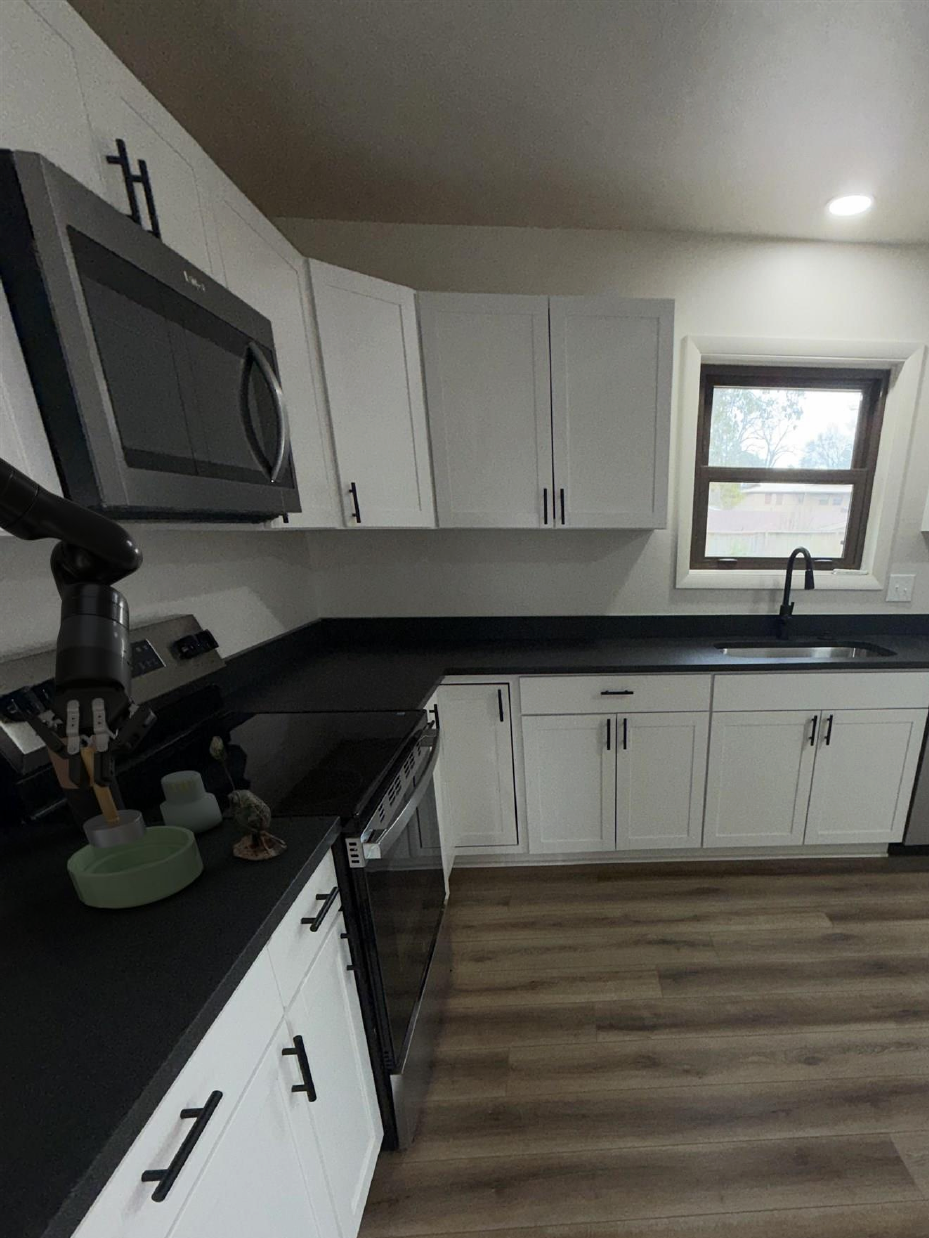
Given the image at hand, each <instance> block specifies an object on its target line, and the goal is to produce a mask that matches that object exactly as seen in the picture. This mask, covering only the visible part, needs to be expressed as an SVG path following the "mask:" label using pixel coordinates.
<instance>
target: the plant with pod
mask: <svg viewBox="0 0 929 1238" xmlns="http://www.w3.org/2000/svg"><path fill="white" fill-rule="evenodd" d="M209 753H210V755H211V756H212V758H214V759H215V760H216V761H218V762H221V765H222V767H223V768H224V771H225V773H226V775H227V777H228V779H229V782H230V784H231V786H232V789H233V791H232V792H231V793H229V794H228V795H227V800H228V801H229V805H230V809H231V812H230V813H231V815H232V819H233V822H234V828H235V830H236V831H235V832H236V833H237V834H238V835H239V836H240V837H242V838H241V840H239V841H236V842H234V843H232V848H233V852H232V855H233V856H234V857H238V858H241V859H247V860H250V861H257V862H258V861H264V860H269V858H271V859H272V858H273V857H276V856H279V855H282V854H284V852H285V851H286V850H288V849H287V848H288V847H287V845H286V842H284V841H285V840H283V839H280V837H278V836H277V835H273V834H270V833H268V832H267V831H266V830H267V829H269V828H270V824H271V822H272V814H271V809H270V808H269V806H267V804H265V802H264V801H263V800H262V799H261V798H259V797H258V796H257V795H255V794H254V793H252V792H251V791H250V790H248V789H236V787H235V785H234V782H233V779H232V777H231V775H230V772H229V770H228V769H227V763H226V761H225V760H227V755H228V754H227V751H226V748H225V745H224V741H223V739H222V738H221V737H220V736H217V735H216V736H213V737H212V740H211V742H210V746H209Z"/></svg>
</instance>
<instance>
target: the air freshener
mask: <svg viewBox="0 0 929 1238" xmlns="http://www.w3.org/2000/svg"><path fill="white" fill-rule="evenodd" d="M160 784H161V788H162V790H163V793H164V797H165V800H164V801H163V802H162V803H161V804H160V805H159V808H160V812H161V816H162V819H163V822H164V826H176V827H182V828H186V829H188V830H190V831H192V832H193V834H194V835H197V834H201V833H204V832H207V831H209V830H211V829H213V828H215V827H216V826H217V825H218V824H220V823H221V822H222V820H223V816H222V813H221V809H220V807H219V804H218V801H217V799H216V796H215V794H213V793H210V792H206V789H205V786H204V783H203V779H202V776H201V773H199V772H198V771H195V770H181V771H176V772H172V773H169V774H167V775H165V776H163V777H162V778H161V780H160Z"/></svg>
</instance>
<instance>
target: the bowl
mask: <svg viewBox="0 0 929 1238" xmlns="http://www.w3.org/2000/svg"><path fill="white" fill-rule="evenodd" d="M146 829H147V832H146V834H145V835H144V836H142V837H141V838H139V839H137V840H135V841H133V842H130V843H127V844H124V845H120V846H115V847H108V848H97V847H93V846H91V845H90V843H89V844H87V845H85V846H83V847H82V848H80V849H79V850H77V851H76V852H75V853H73V854H72V855H71V856H70V858H69V859H68V860H67V864H66V867H67V871H68V874H69V877H70V879H71V881H72V883H73V886H74V889H75V891H76V894H77V896H78V899H79V900H80V901H81V902H83V903H84V905H86V906H90V907H94V908H99V909H128V908H134V907H141V906H144V905H149V904H151V903H155V902H157V901H160V900H163V899H166V898H168V897H170V896H172V895H175V894H176V893H178V892H180V891H181V890H184V889H185V888H186V887H188V886H189V885H190V884H192V883H193V882H194V881H195V880H196V879H197V878H198V877H199V876H201V874H202V872H203V869H204V864H203V861H202V857H201V854H200V851H199V848H198V844H197V841H196V838H195V834H193V832H192V831H190V830H188V829H186V828H182V827H176V826H166V825H155V826H146Z"/></svg>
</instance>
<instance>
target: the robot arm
mask: <svg viewBox="0 0 929 1238" xmlns="http://www.w3.org/2000/svg"><path fill="white" fill-rule="evenodd" d="M0 529H2V530H4V531H5V532H7V533H8V534H10V535H12V536H14V537H16V538H17V539H20V540H23V541H27V542H28V541H29V542H31V541H32V542H33V541H38V540H43V539H56V540H59V541H58V542H57V543H56V544H55V545H54V547H53V549H52V551H51V553H50V558H49V567H50V570H51V574H52V577H53V580H54V583H55V587H56V590H57V593H58V595H59V597H60V600H61V605H60V621H59V623H60V624H59V630H58V633H57V638H56V648H55V649H56V650H55V669H54V670H55V671H54V692H55V696H54V698H53V700H52V701H51V703H50V705H49V710H47V711H45V712H43V713H41V714H39V715H37V714H35V713H29V714H27V715H26V716H25V722H26V723H27V724H28V725H29V726H30V728H31V729H32V730H33V731H34V732H35V733H36V735H37V736H38V738H40V739H41V741H43V743H44V744H46V745H47V746H48V747H49V749H50V750H52V751H53V752H54V753H55V754H57V755H58V756H59V757H61V758H62V759H64V760H67V759H69V773H68V778H69V780H70V781H71V782H72V783H74V784H75V785H76V786H77V787H78V788H80V789H81V790H83V789H89V788H90V777H89V774H88V771H87V769H86V766H85V763H84V761H83V758H82V755H81V750H82V749H83V748H84V747H90V746H91V745H92V743H93V735H96V749H97V750H98V752H97V753H94V775H93V779H94V782H95V783H96V784H97V785H98V786H100V787H101V788H102V787H109V782H113V780H114V775H115V769H116V767H115V764H116V763H115V762H116V761H115V759H117V757H118V756H119V755H120V756H121V755H123V754H125V755H130V754H132V753H133V752H134V751H135V750H136V748H137V746H139V744H140V743H141V741H142V740H143V739H144V737H145V736H146V735H147V733H148V732H149V731H150V729H151V728H152V727H153V726H154V724H155V722H156V721H157V716H156V715H155V713H154V712H153V711H152V710H151V708H150V707H148V706H147V705H143V704H142V705H137V704H136V703H135V701H134V700H133V698H132V672H133V671H132V664H133V661H134V659H133V655H132V644H131V639H130V607H129V602H128V600H127V598H126V597H125V596H124V594H122V592H121V591H120V590H118V588H117V589H116V588H115V587H114V586H112V585H115V584H116V583H118V582H120V581H121V580H123V579H125V578H127V577H129V576H130V575H132V574H134V573H136V572H137V571H138V570H139V569H140V568H141V567H142V565H143V562H144V555H143V551H142V549H141V546H140V545H139V543H138V542H137V540H136V538H134V537H133V535H132V534H131V533H130V532H129V531H128V530H126V529H125V528H124V527H123V526H122V525H120V524H119V523H117V522H115V521H114V520H112V519H110V518H109V517H107V516H104V515H102V514H100V513H98V512H96V511H94V510H91V509H89V508H87V507H85V506H82V505H81V504H79V503H76V502H74V501H72V500H70V499H68V498H65V497H62V496H60V495H58V494H55V493H54V492H51V491H50V490H48V489H46V488H45V487H43V486H42V485H41V484H40V483H38V482H37V481H35V480H34V479H32V478H31V477H29V476H28V475H26V474H25V473H24V472H22V471H21V470H19V469H18V468H17V467H15V466H14V465H12V464H11V463H10V462H8V461H6V460H5V459H3V458H2V457H0ZM57 719H59V720H61V721H62V722H63V723H64V724H65V725H66V726H67V727H66V734H67V736H68V745H65V744H64V743H63V742H62V741H61V740H60V738H59V737H58V736H57V735H56V734H55V732H54V731H56V730H57V724H56V721H57ZM127 719H128V720H127ZM126 721H127V722H126ZM125 722H126V723H125ZM124 723H125V724H124ZM123 724H124V725H123ZM122 725H123V727H122V728H121V726H122ZM119 728H121V729H120V730H119ZM46 745H45V746H46Z"/></svg>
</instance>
